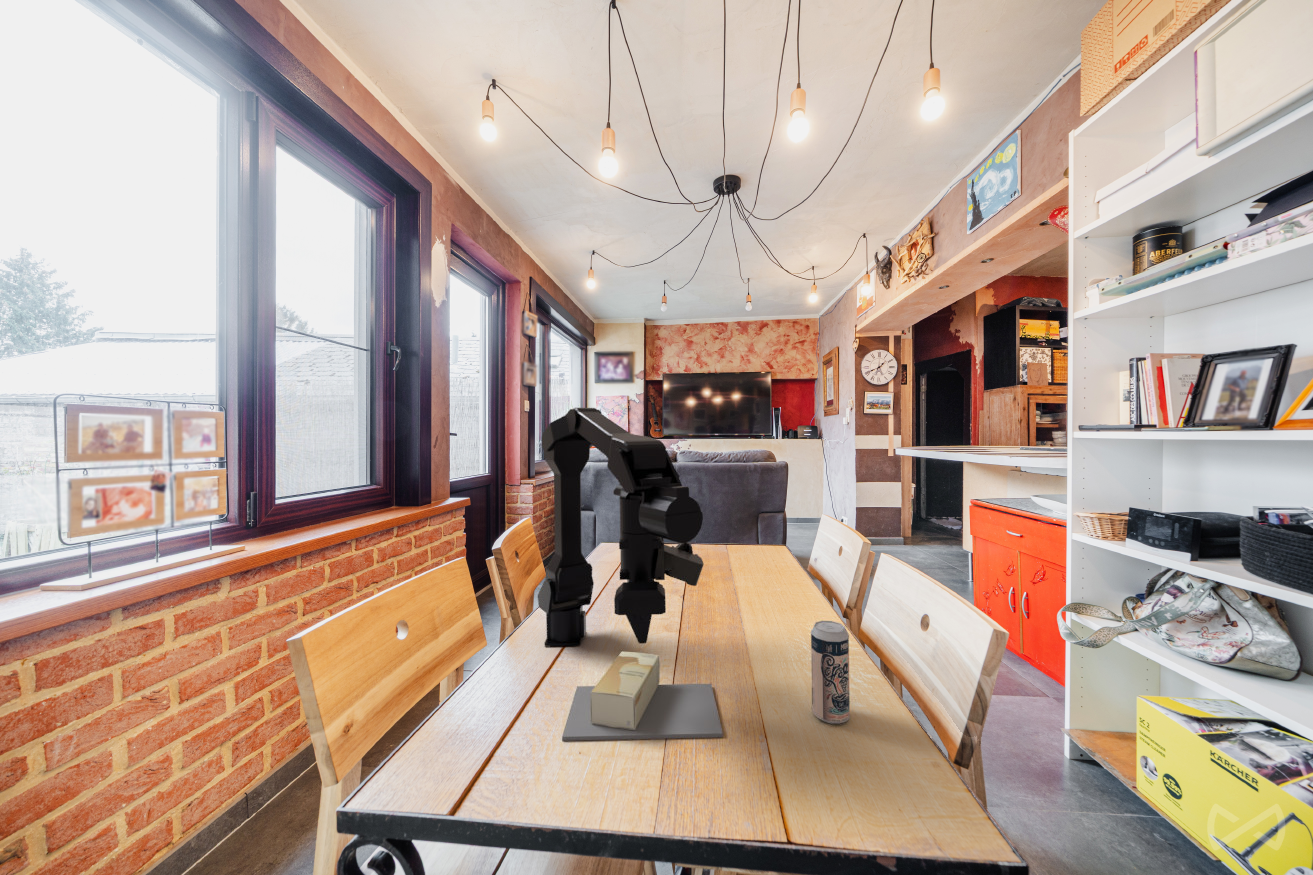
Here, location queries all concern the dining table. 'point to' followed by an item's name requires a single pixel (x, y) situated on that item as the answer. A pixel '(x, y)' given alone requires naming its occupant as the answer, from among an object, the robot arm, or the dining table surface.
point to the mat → (652, 716)
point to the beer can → (830, 672)
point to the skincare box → (625, 690)
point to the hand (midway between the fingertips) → (642, 642)
